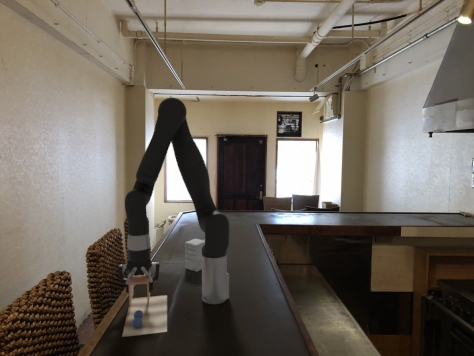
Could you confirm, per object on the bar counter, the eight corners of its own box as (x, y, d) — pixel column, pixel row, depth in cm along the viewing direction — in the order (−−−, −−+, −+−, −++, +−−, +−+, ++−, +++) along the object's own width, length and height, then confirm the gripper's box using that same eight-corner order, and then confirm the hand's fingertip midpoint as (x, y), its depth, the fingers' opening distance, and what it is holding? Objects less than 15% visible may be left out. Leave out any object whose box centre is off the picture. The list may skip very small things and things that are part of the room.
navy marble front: (140, 323, 102) (140, 314, 102) (143, 328, 100) (143, 318, 99) (131, 326, 101) (130, 317, 100) (133, 331, 98) (133, 321, 98)
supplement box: (195, 263, 156) (195, 238, 154) (207, 267, 151) (207, 240, 150) (184, 268, 150) (184, 241, 148) (196, 272, 145) (196, 244, 144)
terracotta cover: (132, 292, 117) (131, 271, 116) (150, 291, 119) (149, 270, 118) (129, 306, 108) (128, 283, 107) (149, 304, 109) (148, 281, 108)
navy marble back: (141, 316, 107) (141, 307, 106) (144, 320, 104) (144, 311, 104) (132, 318, 105) (132, 310, 105) (135, 323, 102) (134, 314, 102)
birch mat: (130, 301, 119) (130, 298, 119) (167, 297, 121) (167, 295, 121) (122, 340, 95) (122, 336, 95) (167, 334, 98) (167, 331, 98)
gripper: (160, 241, 116) (161, 286, 118) (118, 243, 113) (119, 289, 115) (160, 248, 109) (161, 295, 111) (115, 250, 106) (116, 299, 108)
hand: (140, 292), depth 113 cm, fingers closed on terracotta cover, 6 cm apart
